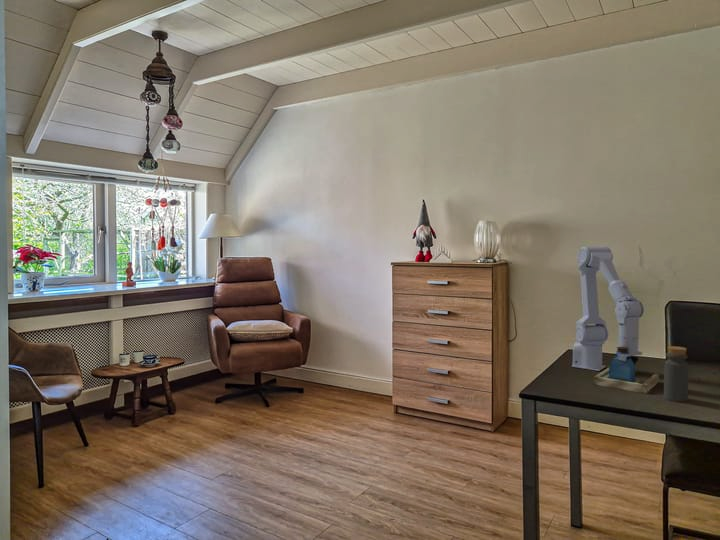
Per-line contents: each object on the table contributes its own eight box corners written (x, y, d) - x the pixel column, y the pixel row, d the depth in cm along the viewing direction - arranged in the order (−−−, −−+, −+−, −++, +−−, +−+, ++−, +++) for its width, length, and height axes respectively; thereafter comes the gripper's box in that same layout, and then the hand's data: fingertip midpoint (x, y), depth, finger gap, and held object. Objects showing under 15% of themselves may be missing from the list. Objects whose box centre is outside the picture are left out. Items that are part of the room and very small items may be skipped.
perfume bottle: (630, 389, 153) (631, 351, 153) (608, 385, 157) (609, 348, 157) (634, 384, 158) (635, 347, 157) (613, 380, 162) (614, 344, 161)
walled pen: (593, 384, 159) (593, 376, 159) (609, 373, 171) (609, 367, 171) (646, 393, 149) (646, 385, 148) (658, 381, 161) (658, 374, 161)
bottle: (659, 396, 146) (660, 345, 146) (677, 395, 147) (679, 345, 146) (673, 402, 140) (674, 350, 140) (692, 401, 141) (694, 349, 140)
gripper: (636, 342, 152) (635, 385, 153) (647, 335, 163) (646, 376, 163) (611, 339, 157) (610, 381, 157) (624, 333, 167) (623, 372, 168)
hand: (627, 378), depth 161 cm, fingers closed
